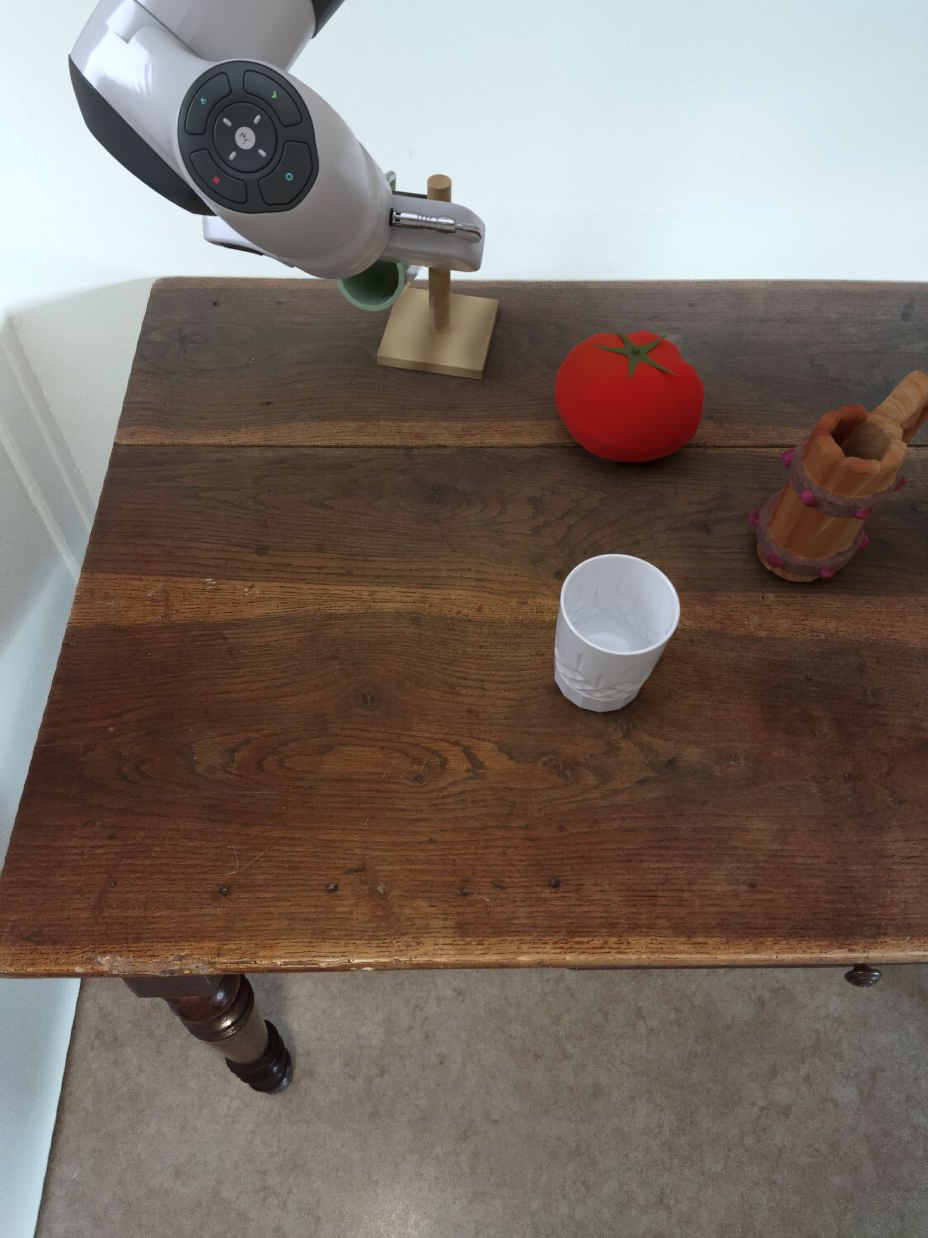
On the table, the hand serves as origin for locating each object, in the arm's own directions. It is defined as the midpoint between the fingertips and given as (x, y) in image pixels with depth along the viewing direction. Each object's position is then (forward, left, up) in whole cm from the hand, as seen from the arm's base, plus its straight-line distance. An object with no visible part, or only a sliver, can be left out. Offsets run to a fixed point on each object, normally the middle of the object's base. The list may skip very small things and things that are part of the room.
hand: (369, 244), depth 73 cm
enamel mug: (+5, +6, -4) cm, 9 cm away
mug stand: (+5, +2, -12) cm, 13 cm away
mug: (+23, -36, -13) cm, 44 cm away
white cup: (0, -38, -13) cm, 40 cm away
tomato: (+15, -19, -13) cm, 27 cm away
